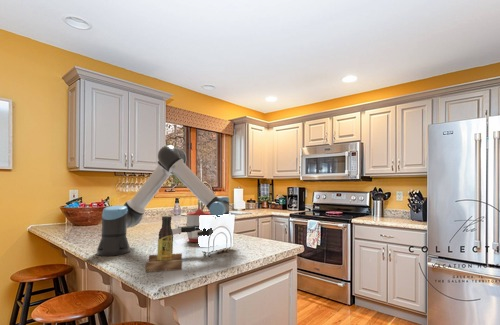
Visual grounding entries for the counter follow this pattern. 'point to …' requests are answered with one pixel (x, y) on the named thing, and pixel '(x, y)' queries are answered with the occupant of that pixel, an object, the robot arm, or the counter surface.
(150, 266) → the groove board
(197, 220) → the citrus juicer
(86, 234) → the counter surface
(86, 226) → the counter surface
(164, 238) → the sauce bottle
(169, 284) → the counter surface
